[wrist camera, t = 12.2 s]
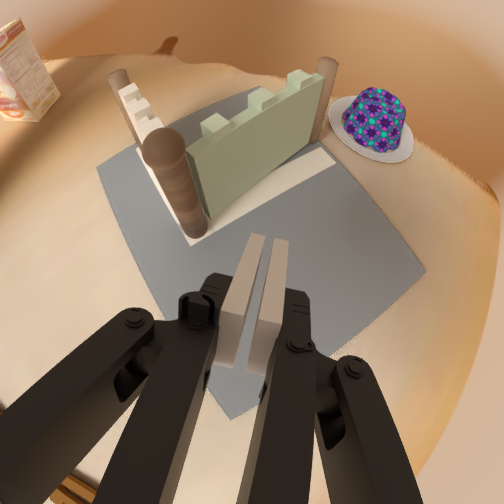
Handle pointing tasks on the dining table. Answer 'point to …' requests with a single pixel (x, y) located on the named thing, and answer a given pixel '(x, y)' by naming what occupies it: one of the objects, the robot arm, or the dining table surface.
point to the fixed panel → (133, 106)
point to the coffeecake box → (23, 77)
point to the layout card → (266, 245)
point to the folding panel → (259, 136)
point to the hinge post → (175, 178)
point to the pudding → (373, 125)
